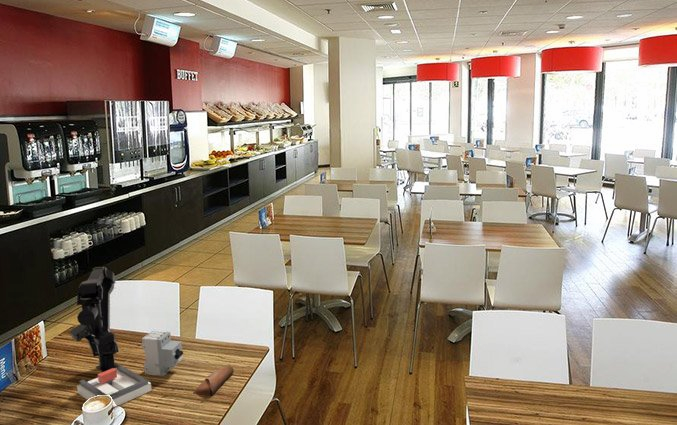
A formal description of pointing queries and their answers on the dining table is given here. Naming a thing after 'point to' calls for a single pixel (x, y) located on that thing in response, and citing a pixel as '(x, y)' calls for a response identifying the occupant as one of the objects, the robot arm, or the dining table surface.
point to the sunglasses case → (214, 381)
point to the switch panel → (115, 388)
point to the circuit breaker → (160, 352)
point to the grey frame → (122, 392)
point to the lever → (107, 376)
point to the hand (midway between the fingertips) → (97, 354)
